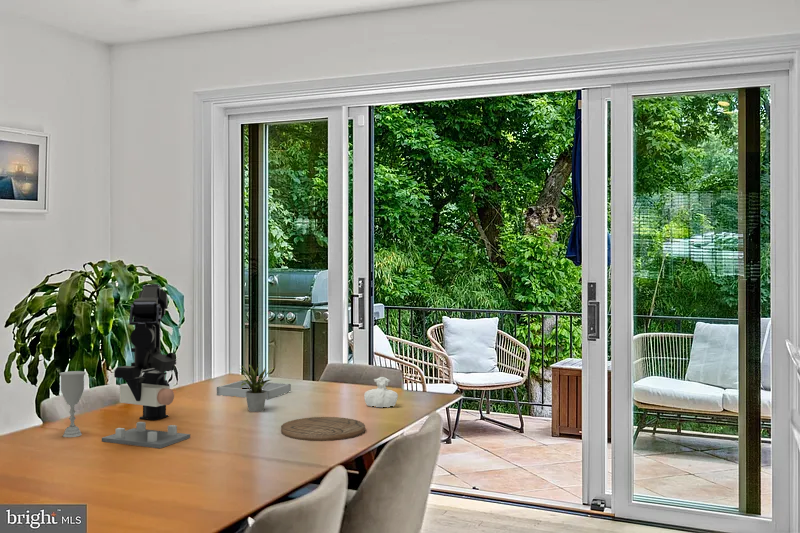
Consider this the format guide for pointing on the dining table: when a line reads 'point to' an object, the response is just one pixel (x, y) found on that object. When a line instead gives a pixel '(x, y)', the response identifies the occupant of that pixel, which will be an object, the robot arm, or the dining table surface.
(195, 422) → the dining table surface
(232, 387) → the tray
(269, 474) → the dining table surface
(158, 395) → the white block
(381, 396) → the bust
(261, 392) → the house plant
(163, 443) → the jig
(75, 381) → the chalice
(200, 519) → the dining table surface
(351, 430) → the trivet
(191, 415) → the dining table surface
